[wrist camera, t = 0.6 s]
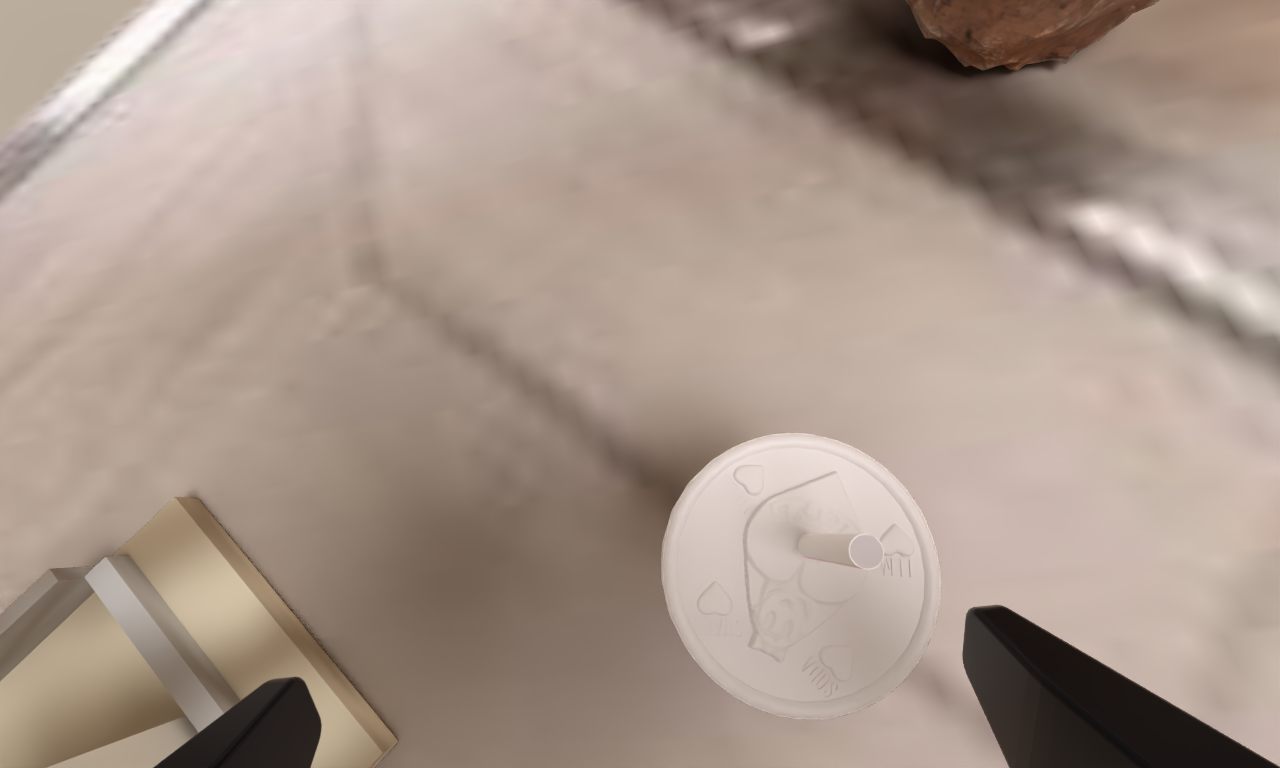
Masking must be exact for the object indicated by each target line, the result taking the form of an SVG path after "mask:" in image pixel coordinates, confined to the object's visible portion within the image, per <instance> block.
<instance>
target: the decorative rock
mask: <svg viewBox="0 0 1280 768" xmlns="http://www.w3.org/2000/svg"><path fill="white" fill-rule="evenodd" d="M1158 1H1159V0H905V2H906V3H907V4H908V5H909V6H910V8H911V10H912V13H913V15H914V18H915V20H916V22H917V24H918V26H919V28H920V30H921V32H922V34H923V36H924V37H925V38H929V39H936V40H937V41H939V42H941V43H942V44H944V45H945V46H946V47H947V48H948V49H949V50H950V51H951V52H952V53H953V54H954V56H955V57H956V58H957V59H958V61H959V62H960V63H961V64H962V65H963V66H965V67H967V66H970V65H972V66H974V67H976V68H978V69H980V70H983V71H984V70H987V69H990V68H993V67H995V66H1000V65H1004V66H1006V67H1007V68H1008V69H1010V70H1016V71H1017V70H1019V69H1020V68H1022V67H1023V66H1024V65H1026V64H1033V63H1038V62H1043V61H1049V60H1055V61H1059V62H1062V63H1065V64H1066V63H1067V62H1068V61H1069V60H1070V59H1071V58H1072V57H1073V56H1074V55H1075V54H1076V53H1077V52H1079V51H1080V50H1082V49H1084V48H1085V47H1087V46H1089V45H1091V44H1093V43H1095V42H1097V41H1099V40H1100V39H1101V38H1102V37H1103V36H1104V35H1106V34H1107V33H1108V32H1109V31H1110V30H1111V29H1113V28H1114V27H1116V26H1118V25H1119V24H1121V23H1122V22H1124V21H1125V20H1126V19H1127V18H1128V17H1129V16H1130V15H1131V14H1133V13H1135V12H1137V11H1140V10H1142V9H1144V8H1147V7H1149V6H1152V5H1154V4H1155V3H1156V2H1158Z"/></svg>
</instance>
